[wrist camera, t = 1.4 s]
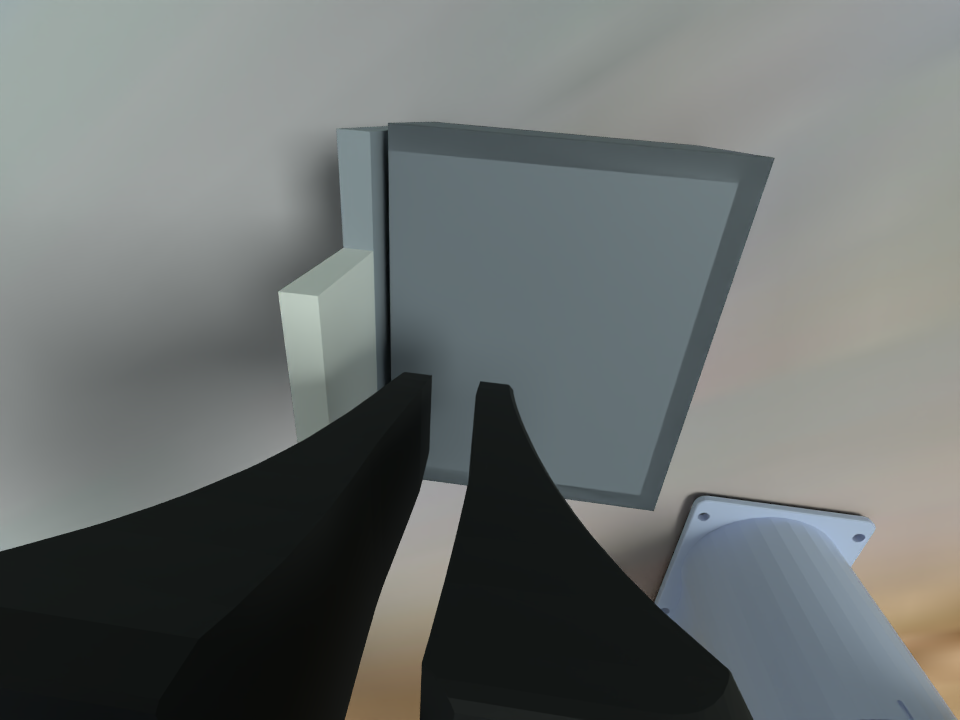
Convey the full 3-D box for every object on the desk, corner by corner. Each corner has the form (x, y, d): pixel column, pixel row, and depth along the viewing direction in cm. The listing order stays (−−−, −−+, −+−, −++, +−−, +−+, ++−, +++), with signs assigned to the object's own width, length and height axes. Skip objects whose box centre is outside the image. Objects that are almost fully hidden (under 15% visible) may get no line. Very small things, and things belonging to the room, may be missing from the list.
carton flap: (416, 394, 21) (341, 567, 13) (398, 392, 21) (313, 563, 13) (421, 127, 16) (303, 136, 8) (397, 125, 16) (257, 132, 8)
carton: (626, 418, 21) (653, 511, 16) (425, 393, 21) (392, 475, 16) (700, 145, 16) (774, 157, 11) (433, 121, 16) (388, 123, 11)
